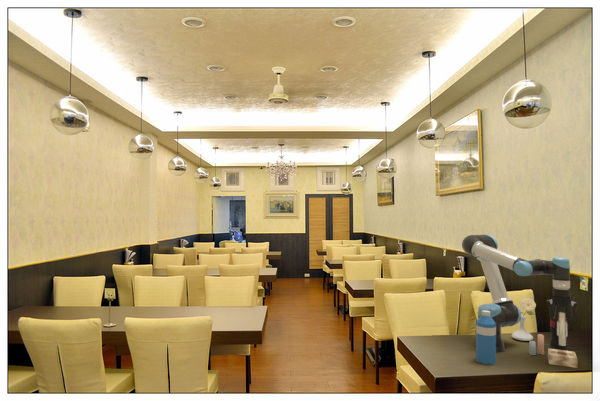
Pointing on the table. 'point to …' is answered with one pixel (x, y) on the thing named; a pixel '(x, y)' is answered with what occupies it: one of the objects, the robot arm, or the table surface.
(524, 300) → the flower in vase
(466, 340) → the table surface
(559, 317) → the long pin
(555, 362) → the block
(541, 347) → the medium pin
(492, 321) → the water bottle
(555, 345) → the cola bottle
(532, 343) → the short pin
